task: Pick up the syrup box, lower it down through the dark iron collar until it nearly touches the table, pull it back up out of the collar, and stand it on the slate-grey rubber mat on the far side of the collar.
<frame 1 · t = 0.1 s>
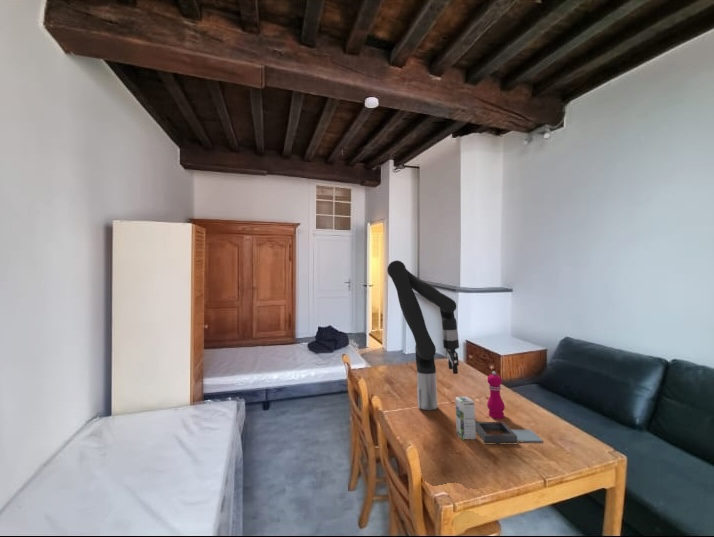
hand: (453, 371, 151), 17 cm above the table, tool pointing down, fingers open, 8 cm apart
pepper mill: (496, 416, 138), on the table
syrup box: (466, 437, 120), on the table
iron collar: (494, 436, 120), on the table
slate mat: (524, 436, 119), on the table
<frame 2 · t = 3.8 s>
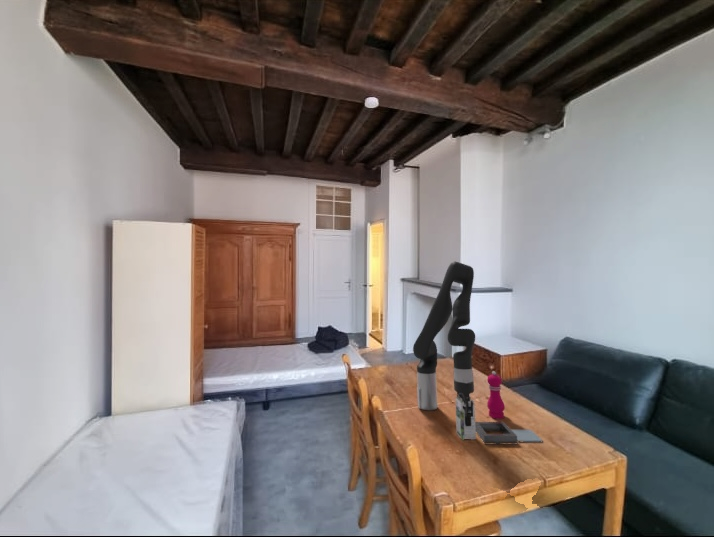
hand: (465, 421, 121), 6 cm above the table, tool pointing down, fingers closed on syrup box, 6 cm apart
syrup box: (466, 437, 120), on the table, touching gripper
everything else where it was.
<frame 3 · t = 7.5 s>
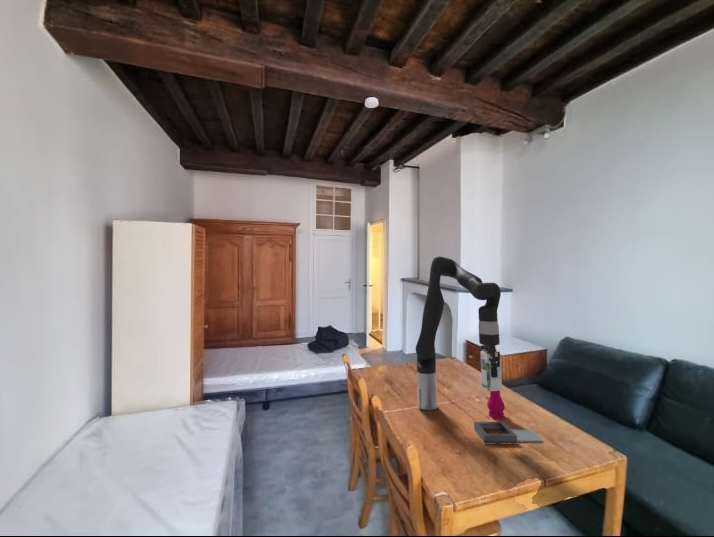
hand: (491, 374, 121), 24 cm above the table, tool pointing down, fingers closed on syrup box, 6 cm apart
syrup box: (491, 389, 121), point 18 cm above the table, touching gripper
everything else where it was.
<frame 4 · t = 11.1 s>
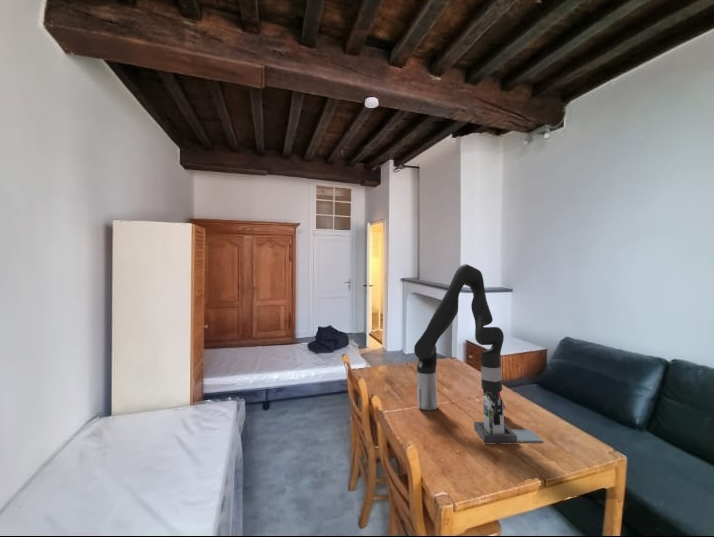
hand: (493, 420, 120), 6 cm above the table, tool pointing down, fingers closed on syrup box, 6 cm apart
syrup box: (494, 435, 120), resting in iron collar, touching gripper
everything else where it was.
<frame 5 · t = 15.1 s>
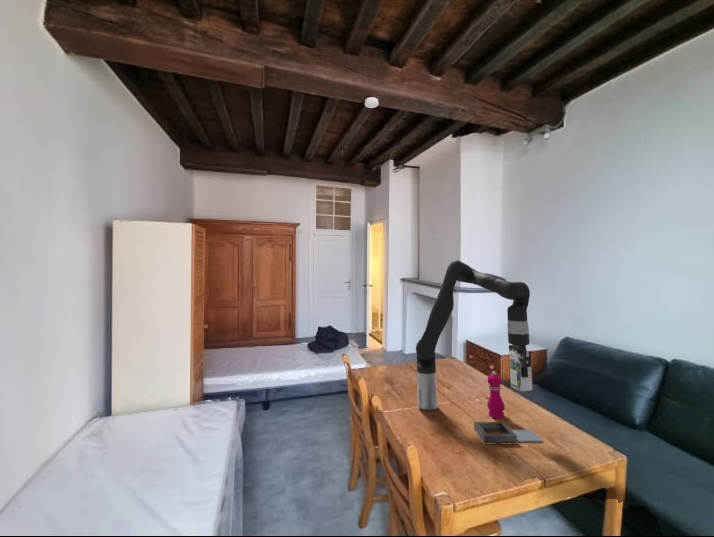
hand: (520, 374, 121), 24 cm above the table, tool pointing down, fingers closed on syrup box, 6 cm apart
syrup box: (521, 389, 120), point 18 cm above the table, touching gripper
everything else where it was.
when the fingers open (7 cm above the table, at t = 18.5 s): syrup box stays where it is, resting on slate mat.
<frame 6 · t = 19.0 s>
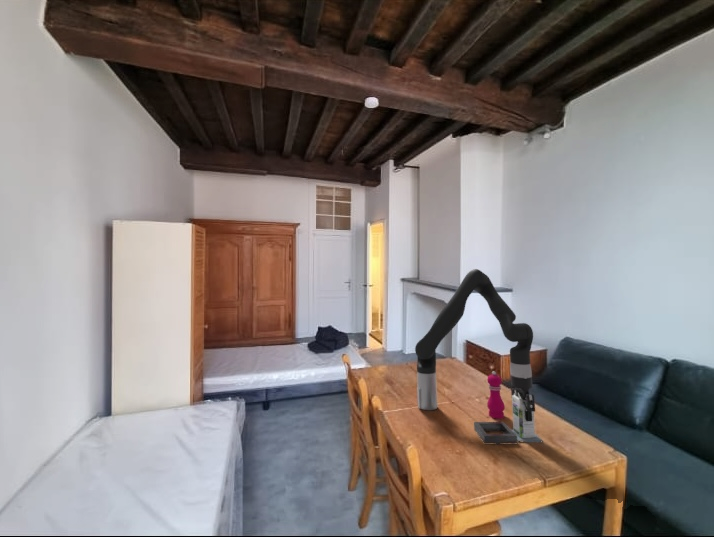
hand: (523, 416, 120), 8 cm above the table, tool pointing down, fingers open, 8 cm apart
syrup box: (524, 435, 119), resting on slate mat
everything else where it was.
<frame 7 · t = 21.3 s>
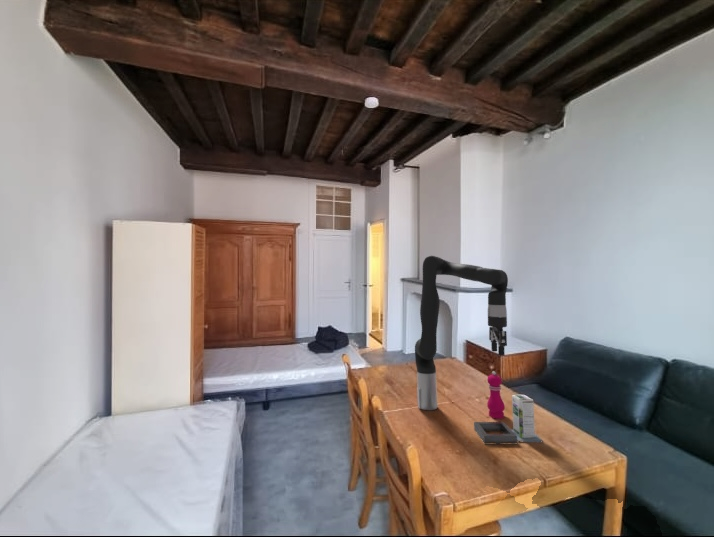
hand: (497, 353, 131), 30 cm above the table, tool pointing down, fingers open, 8 cm apart
nothing on the table moved.
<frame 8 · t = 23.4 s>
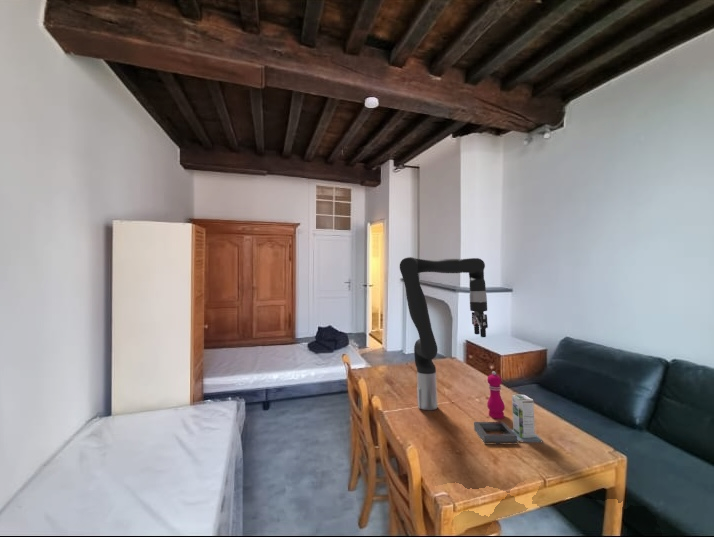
hand: (480, 335, 142), 36 cm above the table, tool pointing down, fingers open, 8 cm apart
nothing on the table moved.
at the end: syrup box 0.1 cm off-centre on the slate mat, point 0.4 cm above the slate mat's base; syrup box tilted 0°; the gripper is holding nothing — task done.
